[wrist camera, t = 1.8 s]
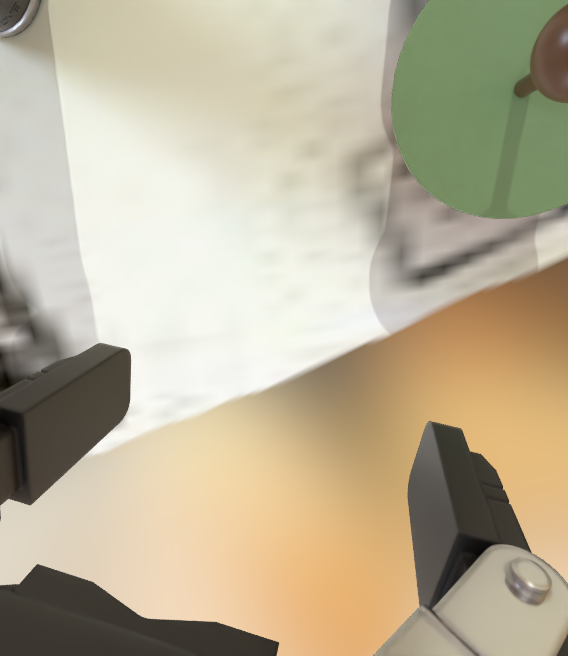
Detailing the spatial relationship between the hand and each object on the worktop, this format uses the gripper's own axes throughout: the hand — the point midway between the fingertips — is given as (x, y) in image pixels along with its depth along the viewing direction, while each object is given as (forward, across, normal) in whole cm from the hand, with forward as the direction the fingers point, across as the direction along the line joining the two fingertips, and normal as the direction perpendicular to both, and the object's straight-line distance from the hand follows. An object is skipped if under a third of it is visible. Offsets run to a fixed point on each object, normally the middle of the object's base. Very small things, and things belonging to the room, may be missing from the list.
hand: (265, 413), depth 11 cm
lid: (+19, -8, -12) cm, 24 cm away
